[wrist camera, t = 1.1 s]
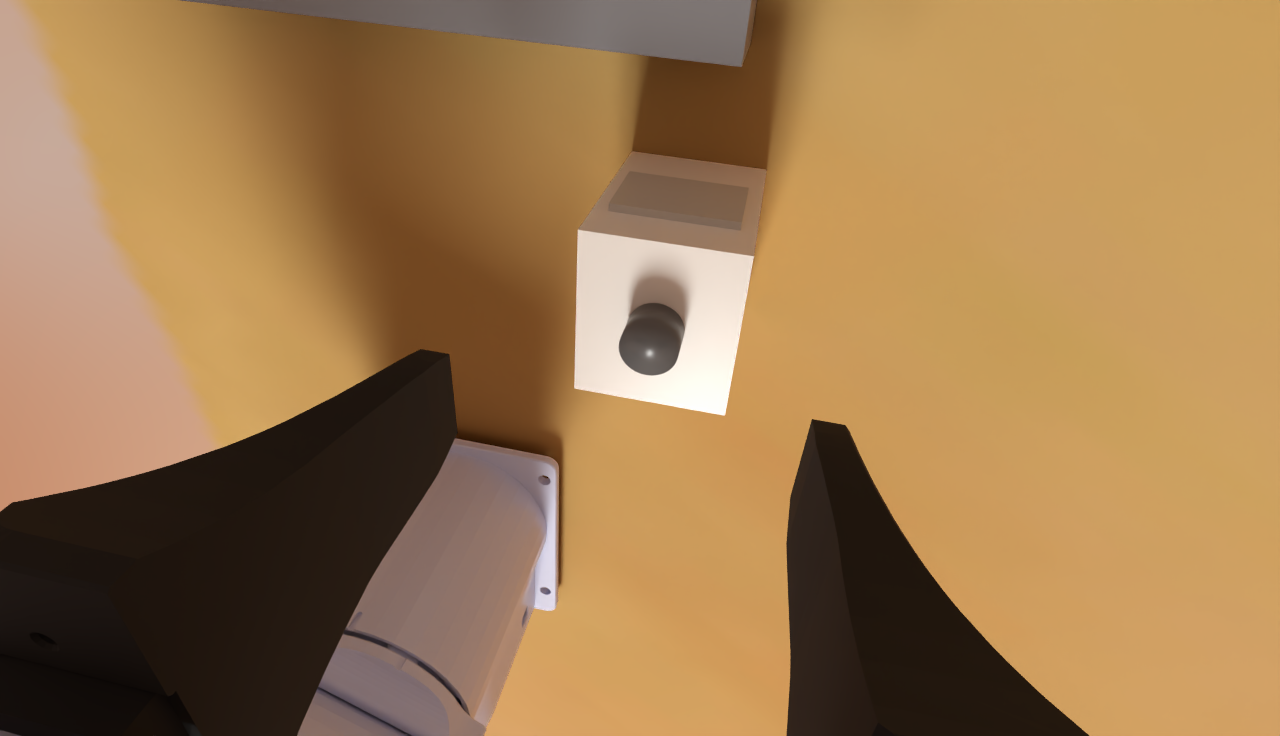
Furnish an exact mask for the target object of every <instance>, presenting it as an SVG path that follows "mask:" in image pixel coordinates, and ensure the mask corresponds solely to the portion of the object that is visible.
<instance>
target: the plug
mask: <svg viewBox="0 0 1280 736" xmlns="http://www.w3.org/2000/svg"><path fill="white" fill-rule="evenodd" d="M766 171H767V170H766V169H759V168H752V167H744V166H737V165H730V164H722V163H715V162H708V161H700V160H693V159H686V158H678V157H671V156H664V155H656V154H649V153H642V152H634V151H632V152H631V153H630V155H629V156H628V158H627V159H626V161H625V162H624V163H623V165H622V166H621V168H620V169H619V171H618V172H617V174H616V175H615V177H614V178H613V179H612V181H611V182H610V184H609V185H608V187H607V188H606V190H605V191H604V192H603V194H602V195H601V197H600V198H599V200H598V201H597V203H596V204H595V206H594V207H593V208H592V210H591V211H590V213H589V214H588V216H587V217H586V219H585V220H584V222H583V223H582V224H581V226H580V227H579V229H578V246H577V292H576V338H575V383H574V388H575V389H580V390H586V391H591V392H597V393H602V394H608V395H614V396H619V397H625V398H630V399H636V400H641V401H647V402H653V403H658V404H664V405H669V406H675V407H680V408H686V409H691V410H697V411H703V412H708V413H714V414H719V415H725V412H726V406H727V401H728V396H729V390H730V385H731V379H732V374H733V368H734V363H735V357H736V352H737V346H738V341H739V335H740V330H741V324H742V319H743V313H744V308H745V303H746V297H747V292H748V286H749V281H750V275H751V270H752V264H753V259H754V253H755V246H756V239H757V232H758V225H759V219H760V212H761V205H762V198H763V192H764V185H765V178H766Z"/></svg>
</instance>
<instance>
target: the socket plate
mask: <svg viewBox="0 0 1280 736" xmlns="http://www.w3.org/2000/svg"><path fill="white" fill-rule="evenodd" d="M182 1H190V2H199V3H207V4H216V5H224V6H232V7H241V8H249V9H258V10H266V11H275V12H283V13H291V14H300V15H308V16H317V17H325V18H333V19H342V20H350V21H359V22H367V23H376V24H384V25H392V26H401V27H409V28H418V29H426V30H434V31H443V32H451V33H460V34H468V35H477V36H485V37H493V38H502V39H510V40H519V41H527V42H536V43H544V44H552V45H561V46H569V47H578V48H586V49H594V50H603V51H611V52H620V53H628V54H637V55H645V56H653V57H662V58H670V59H679V60H687V61H695V62H704V63H712V64H721V65H729V66H738V67H742V65H743V62H744V60H745V57H746V55H747V52H748V49H749V47H750V44H751V38H752V31H753V24H754V18H755V11H756V5H757V0H182Z"/></svg>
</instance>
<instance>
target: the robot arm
mask: <svg viewBox="0 0 1280 736" xmlns="http://www.w3.org/2000/svg"><path fill="white" fill-rule="evenodd" d="M457 433H458V432H457V423H456V413H455V404H454V394H453V385H452V375H451V366H450V356H449V354H445V353H439V352H434V351H428V350H422V349H420V350H418V351H416V352H414V353H412V354H410V355H408V356H406V357H405V358H403V359H401V360H399V361H397V362H396V363H394V364H392V365H390V366H388V367H387V368H385V369H383V370H381V371H380V372H378V373H376V374H374V375H373V376H371V377H369V378H367V379H365V380H364V381H362V382H360V383H358V384H356V385H355V386H353V387H351V388H349V389H347V390H346V391H344V392H342V393H340V394H338V395H337V396H335V397H333V398H331V399H329V400H327V401H325V402H323V403H321V404H319V405H317V406H315V407H313V408H311V409H309V410H307V411H305V412H303V413H301V414H299V415H297V416H295V417H293V418H291V419H289V420H287V421H285V422H283V423H281V424H279V425H276V426H274V427H272V428H270V429H267V430H265V431H263V432H260V433H258V434H256V435H253V436H251V437H248V438H246V439H243V440H241V441H238V442H236V443H233V444H231V445H228V446H226V447H223V448H220V449H217V450H214V451H211V452H208V453H205V454H202V455H199V456H197V457H194V458H191V459H188V460H185V461H182V462H179V463H176V464H173V465H170V466H166V467H163V468H160V469H156V470H153V471H149V472H146V473H142V474H139V475H135V476H131V477H128V478H124V479H120V480H117V481H112V482H109V483H104V484H100V485H96V486H91V487H87V488H83V489H78V490H73V491H68V492H63V493H58V494H53V495H49V496H44V497H39V498H34V499H29V500H24V501H18V502H13V503H11V504H10V505H8V506H7V507H6V508H5V509H3V510H2V511H1V512H0V736H484V734H485V731H486V727H487V725H488V723H489V721H490V719H491V717H492V715H493V713H494V710H495V708H496V705H497V702H498V700H499V697H500V695H501V692H502V689H503V687H504V684H505V682H506V679H507V676H508V674H509V671H510V669H511V666H512V663H513V661H514V658H515V656H516V653H517V650H518V648H519V645H520V643H521V640H522V637H523V635H524V632H525V630H526V627H527V624H528V622H529V619H530V617H531V614H532V611H533V609H534V608H537V609H541V610H546V611H551V610H554V609H555V608H556V605H557V602H558V537H559V466H558V463H557V462H556V461H555V460H554V459H553V458H551V457H548V456H544V455H539V454H534V453H529V452H523V451H518V450H513V449H508V448H503V447H498V446H492V445H487V444H482V443H477V442H472V441H467V440H461V439H456V438H455V437H456V435H457ZM542 475H544V476H547V477H548V478H545V477H543V476H542ZM787 573H788V599H789V624H790V649H791V668H790V691H789V707H788V723H787V736H1089V735H1088V734H1087V733H1086V732H1084V731H1083V730H1082V729H1081V728H1080V727H1079V726H1077V725H1076V724H1075V723H1074V722H1073V721H1072V720H1070V719H1069V718H1068V717H1067V716H1066V715H1065V714H1063V713H1062V712H1061V711H1060V710H1059V709H1058V708H1056V707H1055V706H1054V705H1053V704H1052V703H1051V702H1049V701H1048V700H1047V699H1046V698H1045V697H1044V696H1043V695H1041V694H1040V693H1039V692H1038V691H1037V690H1036V689H1035V688H1034V687H1033V686H1032V685H1031V684H1030V683H1029V682H1028V681H1027V680H1026V679H1025V678H1024V677H1023V676H1021V675H1020V674H1019V673H1018V672H1017V671H1016V670H1015V669H1014V668H1013V667H1012V666H1011V665H1010V664H1009V663H1008V662H1007V661H1006V660H1005V659H1004V658H1003V657H1002V656H1001V655H1000V654H999V653H998V652H997V651H996V650H995V649H994V648H993V647H992V646H991V645H990V644H989V642H988V641H987V640H986V639H985V638H984V637H983V636H982V635H981V634H980V633H979V631H978V630H977V629H976V628H975V627H974V626H973V625H972V624H971V623H970V622H969V620H968V619H967V618H966V617H965V616H964V615H963V614H962V613H961V612H960V610H959V609H958V608H957V607H956V606H955V605H954V603H953V602H952V601H951V600H950V598H949V597H948V596H947V595H946V594H945V592H944V591H943V590H942V588H941V587H940V586H939V584H938V583H937V582H936V580H935V579H934V578H933V577H932V575H931V574H930V573H929V571H928V570H927V568H926V567H925V566H924V564H923V563H922V561H921V560H920V558H919V557H918V556H917V554H916V553H915V551H914V550H913V548H912V547H911V545H910V544H909V542H908V540H907V539H906V537H905V536H904V534H903V533H902V531H901V530H900V528H899V526H898V525H897V523H896V521H895V520H894V518H893V516H892V515H891V513H890V511H889V509H888V508H887V506H886V504H885V502H884V501H883V499H882V497H881V495H880V493H879V492H878V490H877V488H876V486H875V484H874V482H873V480H872V478H871V477H870V474H869V472H868V470H867V468H866V466H865V464H864V462H863V460H862V458H861V456H860V454H859V452H858V450H857V447H856V445H855V443H854V441H853V438H852V436H851V434H850V431H849V430H848V428H847V427H846V426H845V425H842V424H836V423H830V422H825V421H819V420H814V419H812V421H811V425H810V429H809V432H808V436H807V439H806V443H805V447H804V450H803V454H802V457H801V461H800V465H799V468H798V472H797V475H796V479H795V483H794V486H793V490H792V493H791V497H790V509H789V520H788V532H787Z"/></svg>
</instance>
